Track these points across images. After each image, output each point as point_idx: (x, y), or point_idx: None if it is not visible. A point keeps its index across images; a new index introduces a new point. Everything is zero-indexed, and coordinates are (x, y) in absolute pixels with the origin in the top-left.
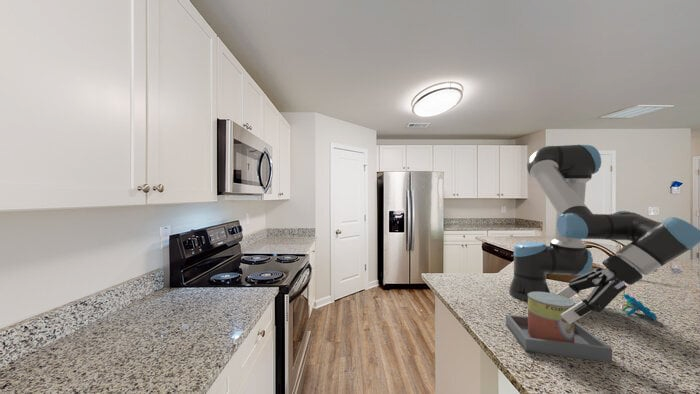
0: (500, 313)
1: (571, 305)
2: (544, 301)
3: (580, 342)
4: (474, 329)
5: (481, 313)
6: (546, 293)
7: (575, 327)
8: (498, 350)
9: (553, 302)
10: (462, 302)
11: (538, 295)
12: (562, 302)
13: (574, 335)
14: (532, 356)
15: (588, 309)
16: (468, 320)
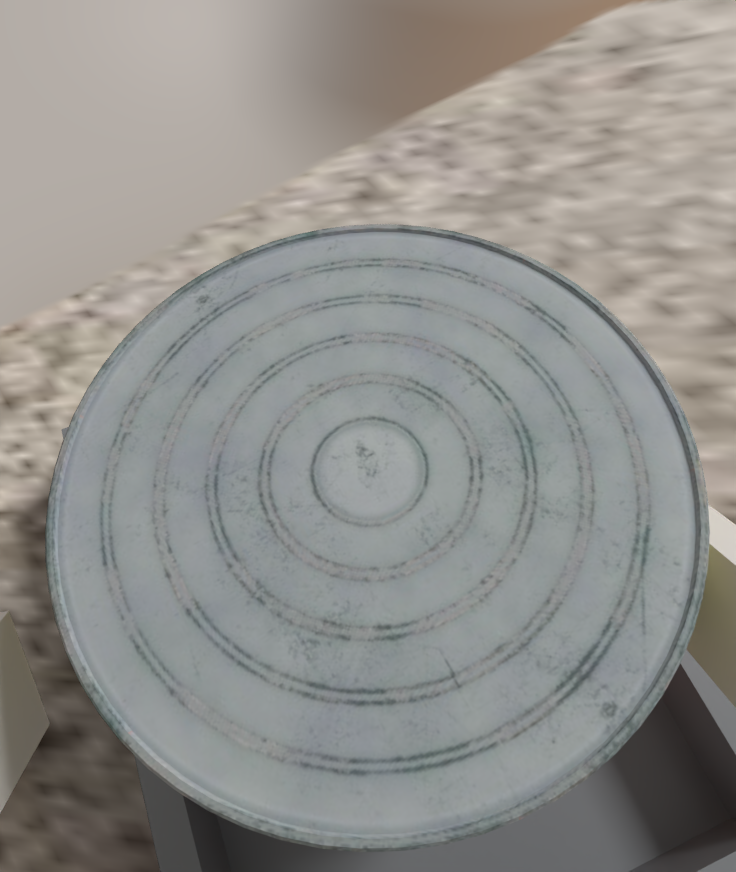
0: (668, 277)
1: (155, 772)
2: (152, 403)
3: (463, 855)
4: (256, 202)
5: (555, 186)
6: (612, 422)
7: (720, 842)
8: (45, 340)
9: (171, 509)
10: (663, 69)
11: (406, 332)
12: (249, 635)
13: (601, 816)
14: None
15: None
16: (371, 154)
